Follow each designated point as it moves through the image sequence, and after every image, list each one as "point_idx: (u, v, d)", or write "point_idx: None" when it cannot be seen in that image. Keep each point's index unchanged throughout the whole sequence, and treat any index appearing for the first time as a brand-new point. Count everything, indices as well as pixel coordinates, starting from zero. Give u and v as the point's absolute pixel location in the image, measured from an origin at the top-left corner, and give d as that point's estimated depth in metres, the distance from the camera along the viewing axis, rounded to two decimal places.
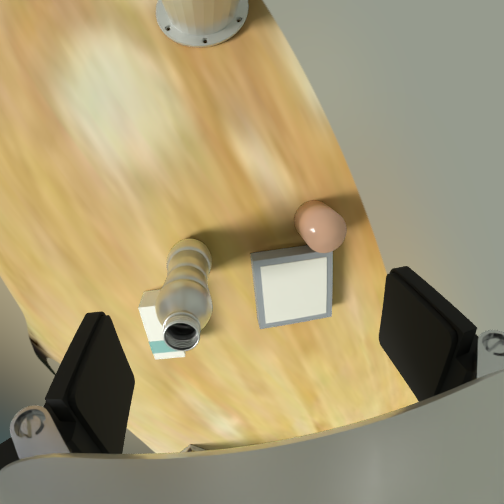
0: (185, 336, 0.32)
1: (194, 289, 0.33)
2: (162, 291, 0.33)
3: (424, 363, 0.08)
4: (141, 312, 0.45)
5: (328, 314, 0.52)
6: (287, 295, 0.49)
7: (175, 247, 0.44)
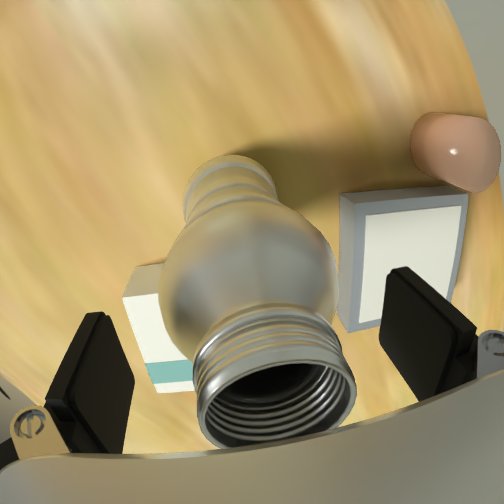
0: (270, 392, 0.09)
1: (299, 228, 0.10)
2: (184, 238, 0.10)
3: (424, 362, 0.08)
4: (128, 307, 0.22)
5: None
6: None
7: (204, 166, 0.20)
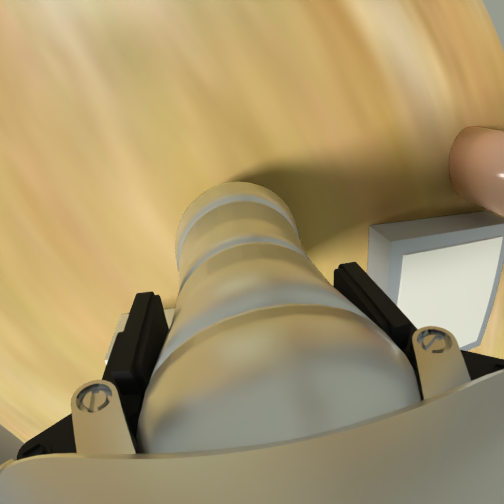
0: None
1: (385, 371, 0.05)
2: (172, 389, 0.05)
3: None
4: None
5: (477, 342, 0.23)
6: (433, 316, 0.21)
7: (202, 199, 0.15)
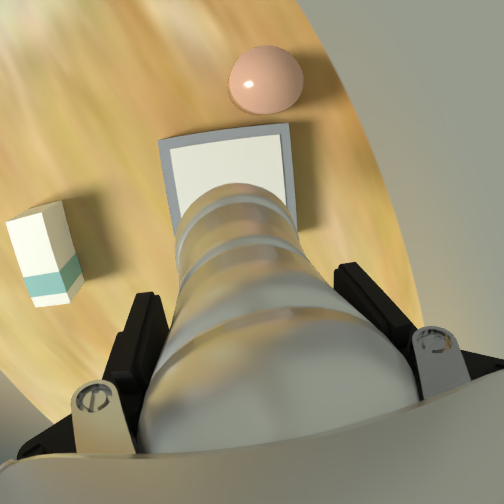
0: None
1: (384, 373, 0.05)
2: (172, 391, 0.05)
3: None
4: (9, 229, 0.26)
5: None
6: None
7: (201, 200, 0.15)
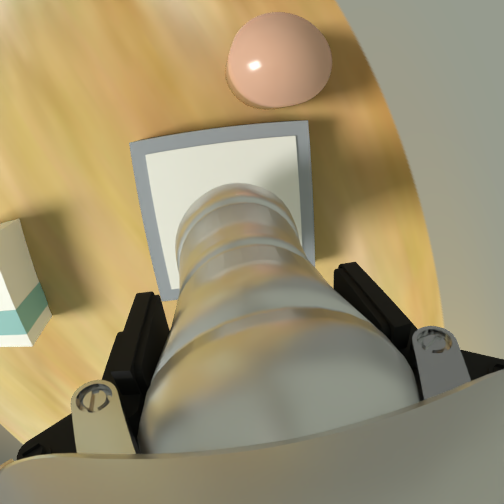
0: None
1: (384, 374, 0.05)
2: (173, 391, 0.05)
3: None
4: None
5: None
6: None
7: (202, 200, 0.15)
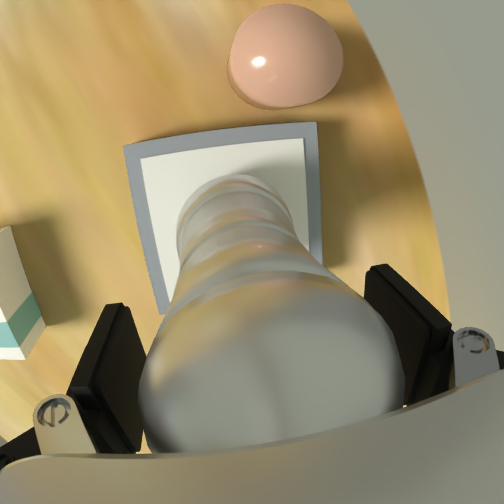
0: None
1: (358, 327, 0.06)
2: (167, 347, 0.06)
3: (401, 359, 0.08)
4: None
5: None
6: None
7: (199, 191, 0.16)
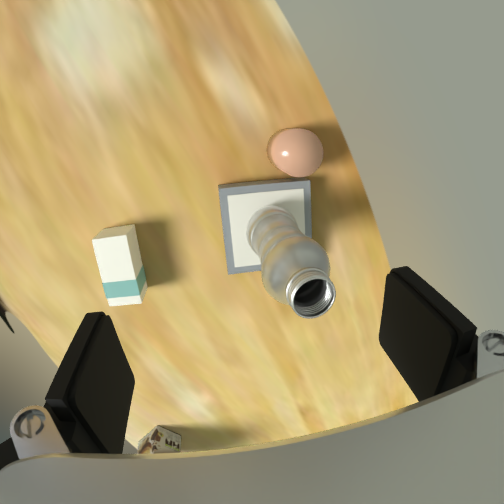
0: (308, 302, 0.27)
1: (315, 245, 0.28)
2: (275, 250, 0.28)
3: (424, 362, 0.08)
4: (95, 245, 0.39)
5: None
6: None
7: (259, 213, 0.39)
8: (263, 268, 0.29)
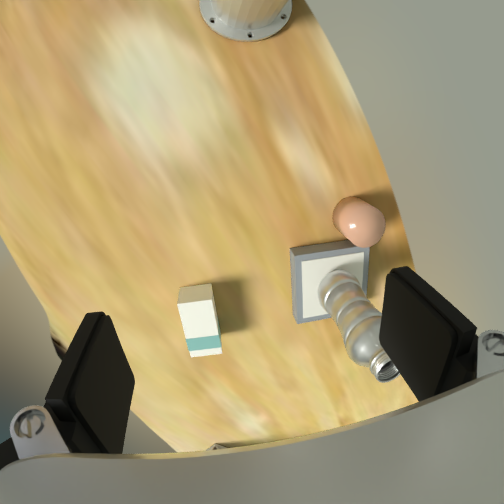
0: (382, 368, 0.33)
1: None
2: (360, 330, 0.34)
3: (424, 362, 0.08)
4: (180, 308, 0.45)
5: None
6: None
7: (331, 280, 0.45)
8: (349, 343, 0.35)
